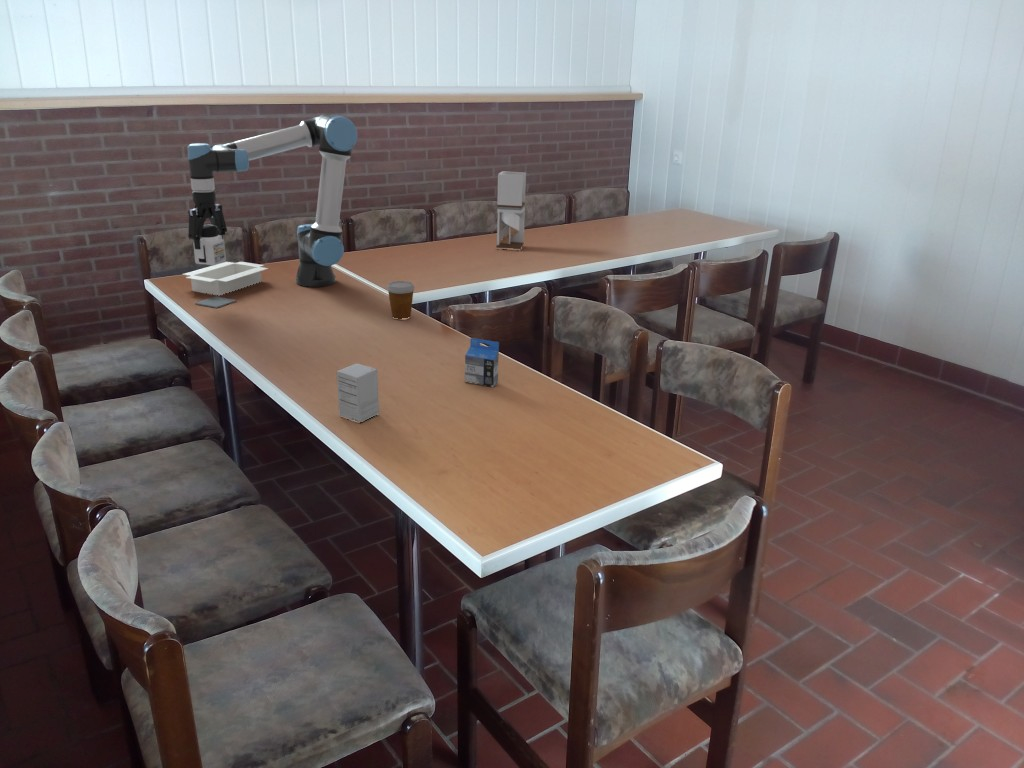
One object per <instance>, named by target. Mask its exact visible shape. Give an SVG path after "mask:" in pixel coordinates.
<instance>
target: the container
mask: <svg viewBox="0 0 1024 768" xmlns="http://www.w3.org/2000/svg"><path fill="white" fill-rule="evenodd" d="M217 238H218V230H217V227H216V226H214V225H212V224H204V225H203V230H202V234H201V239H200V240H203V249H204V259H201V258H197V253H196V249H195V246H194V241H193V242H192V244H193V253H194V262H195V264H196V265H209V266H213V265H217V264H220V263H224V262H227V255H226V247H225V246H226V245H225V239H224V238H223V239H217Z"/></svg>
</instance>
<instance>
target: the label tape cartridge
mask: <svg viewBox="0 0 1024 768" xmlns="http://www.w3.org/2000/svg"><path fill="white" fill-rule="evenodd" d="M484 344H485V345H484ZM486 345H489V346H486ZM499 347H500V343H499V341H494V340H493V341H492V340H488V339H487V340H486V339H481V338H474V337H470V346H469V347H468V350H467V352H466V353H465V356H464V357H465V358H464V382H465V381H467V382H472V383H477V384H481V385H480V386H483V385H486V386H485V387H489V386H491V387H490V388H494V387H495V386H497V385H498V383H499V355H500V354H499V353H500V351H499V350H500V348H499ZM477 384H476V385H477Z"/></svg>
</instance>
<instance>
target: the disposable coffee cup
mask: <svg viewBox="0 0 1024 768" xmlns="http://www.w3.org/2000/svg"><path fill="white" fill-rule="evenodd" d="M386 290H387V292H388V298H389V304H390V311H391V317H394V318H398V319H402V318H408V317H410V316H412V315H411V314H412V307H413V299H414V298H413V297H414V291H415V286H414V283H413V282H411V281H406V280H396V281H395V280H394V281H390V282H389V283H388V284H387V286H386Z"/></svg>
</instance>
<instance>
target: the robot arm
mask: <svg viewBox="0 0 1024 768" xmlns="http://www.w3.org/2000/svg"><path fill="white" fill-rule="evenodd" d="M357 130H358V129H357V127H356V125H355V124H354V122H352V120H350V119H349V118H348V117H345V116H343V115H341V114H340V115H339V114H338V115H337V114H334V113H324V114H321V115H318V116H314V117H312V118H309V119H304V120H302V121H301V122H300V123H299V124H298V125H295V126H290V127H286V128H282V129H278V130H275V131H272V132H267V133H266V132H265V133H263V134H260V135H256V136H252V137H251V136H250V137H248V138H244V139H239V140H235V141H233V142H228V143H224V144H222V143H220V144H216V145H213V146H212V147H211V144H208V143H199V142H198V143H197V142H196V143H190V144H188V145H187V149H186V150H187V161H188V162H187V163H188V168H189V169H188V170H189V176H190V178H189V179H190V187H191V190H192V191H191V197H192V202H193V203H194V208H192V209H188V210H187V213H188V217H189V218H188V233H187V235H188V239H189V240H193V242H194V246H195V249H196V253H197V258H201V259H204V249H203V240H200V239H201V234H202V230H203V225H205V222H206V221H207V219H209V220H208V221H210V223H211V224H210V225H214V226H216V227H217V230H218V238H217V239H224V236H225V235H226V233H227V231H228V229H227V224H226V219H225V217H224V213H223V205H222V204H219V203H216V201H217V196H216V191H215V190H216V186H215V178H214V173H232V172H233V173H240V172H247V171H248V170H249V168H250V161H253V160H257V159H261V158H263V157H268V156H271V155H275V154H279V153H282V152H283V153H284V152H287V151H291V150H294V149H295V150H296V149H298V148H302V147H306V146H307V147H308V148H313V147H317V146H318V152H319V153H320V155H321V167H320V168H321V169H320V174H319V175H320V176H319V184H318V192H317V193H318V195H317V205H316V213H315V214H316V215H315V222H314V223H308V224H306V223H305V224H300V225H298V226H297V232H296V235H297V243H298V245H297V246H298V260H299V266H298V267H297V273H296V276H295V281H296V284H297V285H298V284H299V286H301V285H302V287H307V286H309V287H308V288H320V287H326V286H331V285H334V284H335V283H336V276H335V273H334V270H333V267H332V266H334V265H336V264H337V263H339V262H340V261H341V260H342V258H343V257H344V254H345V253H344V252H345V247H344V244H343V242H342V237H343V235H342V234H343V229H342V228H341V227H340V218H341V217H340V216H341V209H342V208H341V207H342V200H343V193H344V182H345V176H346V174H345V173H346V165H347V161H348V160H349V159H350V158H351V157H352V152H353V151H352V150H353V148H354V147H355V145H356V143H357V141H358V131H357ZM194 246H193V247H194Z"/></svg>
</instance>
